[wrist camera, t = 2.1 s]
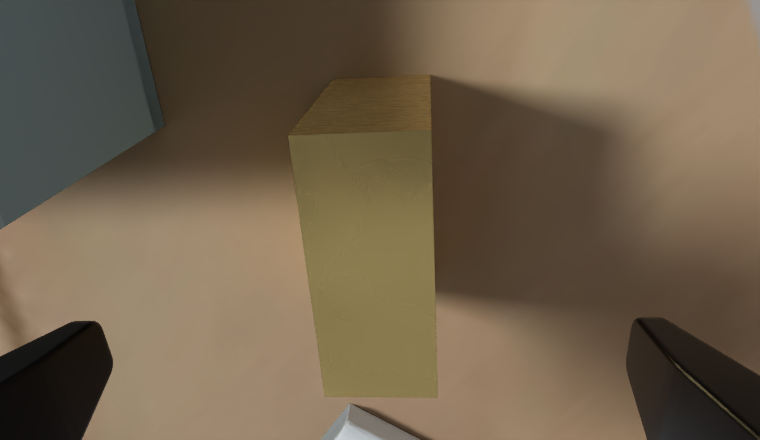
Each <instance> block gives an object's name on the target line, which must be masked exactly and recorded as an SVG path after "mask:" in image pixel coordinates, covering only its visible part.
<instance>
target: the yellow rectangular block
mask: <svg viewBox="0 0 760 440" xmlns="http://www.w3.org/2000/svg"><path fill="white" fill-rule="evenodd" d="M288 141H289V148H290V155H291V162H292V169H293V176H294V183H295V190H296V197H297V204H298V211H299V218H300V225H301V232H302V239H303V246H304V253H305V260H306V267H307V274H308V282H309V289H310V296H311V303H312V310H313V317H314V324H315V331H316V338H317V345H318V352H319V359H320V366H321V373H322V380H323V387H324V394H325V397H413V398H438V389H437V344H436V299H435V256H434V214H433V172H432V130H431V88H430V75H417V76H398V77H378V78H358V79H338V80H332V81H331V82H330V84H329V85H328V86H327V87H326V89H325V90H324V91H323V92H322V94H321V95H320V96H319V97H318V99H317V100H316V101H315V102H314V104H313V105H312V106H311V107H310V109H309V110H308V111H307V113H306V114H305V115H304V116H303V118H302V119H301V120H300V121H299V123H298V124H297V125H296V126H295V128H294V129H293V130H292V131H291V133H290V134H289V135H288Z"/></svg>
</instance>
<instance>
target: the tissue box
mask: <svg viewBox="0 0 760 440" xmlns="http://www.w3.org/2000/svg"><path fill="white" fill-rule="evenodd" d="M164 126H165V125H164V121H163V116H162V112H161V108H160V104H159V100H158V96H157V92H156V87H155V83H154V79H153V75H152V71H151V67H150V63H149V58H148V54H147V50H146V46H145V42H144V38H143V34H142V29H141V25H140V21H139V17H138V13H137V9H136V4H135V0H0V229H2V228H3V227H5V226H6V225H8V224H10V223H11V222H13V221H14V220H16V219H18V218H19V217H21V216H22V215H24V214H25V213H27V212H29V211H30V210H32V209H33V208H35V207H37V206H38V205H40V204H41V203H43V202H45V201H46V200H48V199H49V198H51V197H52V196H54V195H56V194H57V193H59V192H60V191H62V190H64V189H65V188H67V187H68V186H70V185H72V184H73V183H75V182H76V181H78V180H79V179H81V178H83V177H84V176H86V175H87V174H89V173H91V172H92V171H94V170H95V169H97V168H99V167H100V166H102V165H103V164H105V163H106V162H108V161H110V160H111V159H113V158H114V157H116V156H118V155H119V154H121V153H122V152H124V151H126V150H127V149H129V148H130V147H132V146H133V145H135V144H137V143H138V142H140V141H141V140H143V139H145V138H146V137H148V136H149V135H151V134H153V133H154V132H156V131H157V130H159V129H160V128H162V127H164Z"/></svg>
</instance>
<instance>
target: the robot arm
mask: <svg viewBox="0 0 760 440" xmlns="http://www.w3.org/2000/svg"><path fill="white" fill-rule="evenodd" d="M112 367H113V358H112V355H111V352H110V349H109V346H108V343H107V340H106V338H105V335H104V332H103V329H102V327H101V325H100V324H99V323H98V322H95V321H74V322H70V323H68V324H66V325H64V326H62V327H60V328H58V329H56V330H54V331H52V332H50V333H48V334H46V335H44V336H41V337H39V338H37V339H35V340H33V341H31V342H29V343H27V344H25V345H23V346H21V347H19V348H17V349H15V350H13V351H11V352H9V353H6V354H4V355H2V356H0V440H82V438H83V436H84V434H85V431H86V429H87V427H88V424H89V422H90V420H91V418H92V415H93V413H94V411H95V409H96V406H97V404H98V402H99V399H100V397H101V395H102V393H103V390H104V388H105V386H106V383H107V381H108V379H109V377H110V374H111V372H112ZM626 368H627V373H628V377H629V380H630V384H631V387H632V391H633V394H634V397H635V401H636V404H637V407H638V411H639V414H640V417H641V421H642V424H643V428H644V431H645V434H646V438H647V440H760V375H758V374H756V373H754V372H753V371H751V370H749V369H748V368H746V367H744V366H743V365H741V364H739V363H738V362H736V361H734V360H733V359H731V358H729V357H728V356H726V355H724V354H723V353H721V352H719V351H718V350H716V349H714V348H713V347H711V346H709V345H708V344H706V343H704V342H703V341H701V340H699V339H698V338H696V337H694V336H693V335H691V334H689V333H688V332H686V331H684V330H683V329H681V328H679V327H678V326H676V325H674V324H673V323H671V322H669V321H668V320H666V319H664V318H660V317H651V318H637V319H635V320H634V322H633V324H632V327H631V333H630V339H629V345H628V351H627V357H626Z"/></svg>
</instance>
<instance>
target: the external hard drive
mask: <svg viewBox="0 0 760 440" xmlns="http://www.w3.org/2000/svg"><path fill="white" fill-rule="evenodd" d="M321 440H420V439H418V438H416V437H414V436H412V435H410V434H408V433H407V432H405V431H403V430H401V429H399V428H397V427H395V426H393V425H391V424H389V423H387V422H385V421H383V420H382V419H380V418H378V417H376V416H374V415H372V414H370V413H368V412H366V411H364V410H362V409H360V408H358V407H356V406H354V405H353V404H349V405H348V406H347V407H346V409H345V410H344V411H343V412H342V414H341V415H340V416H339V417H338V419H337V420H336V421H335V422H334V424H333V425H332V426H331V427H330V429H329V430H328V431H327V432H326V433H325V435H324V436H323V437H322V438H321Z"/></svg>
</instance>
